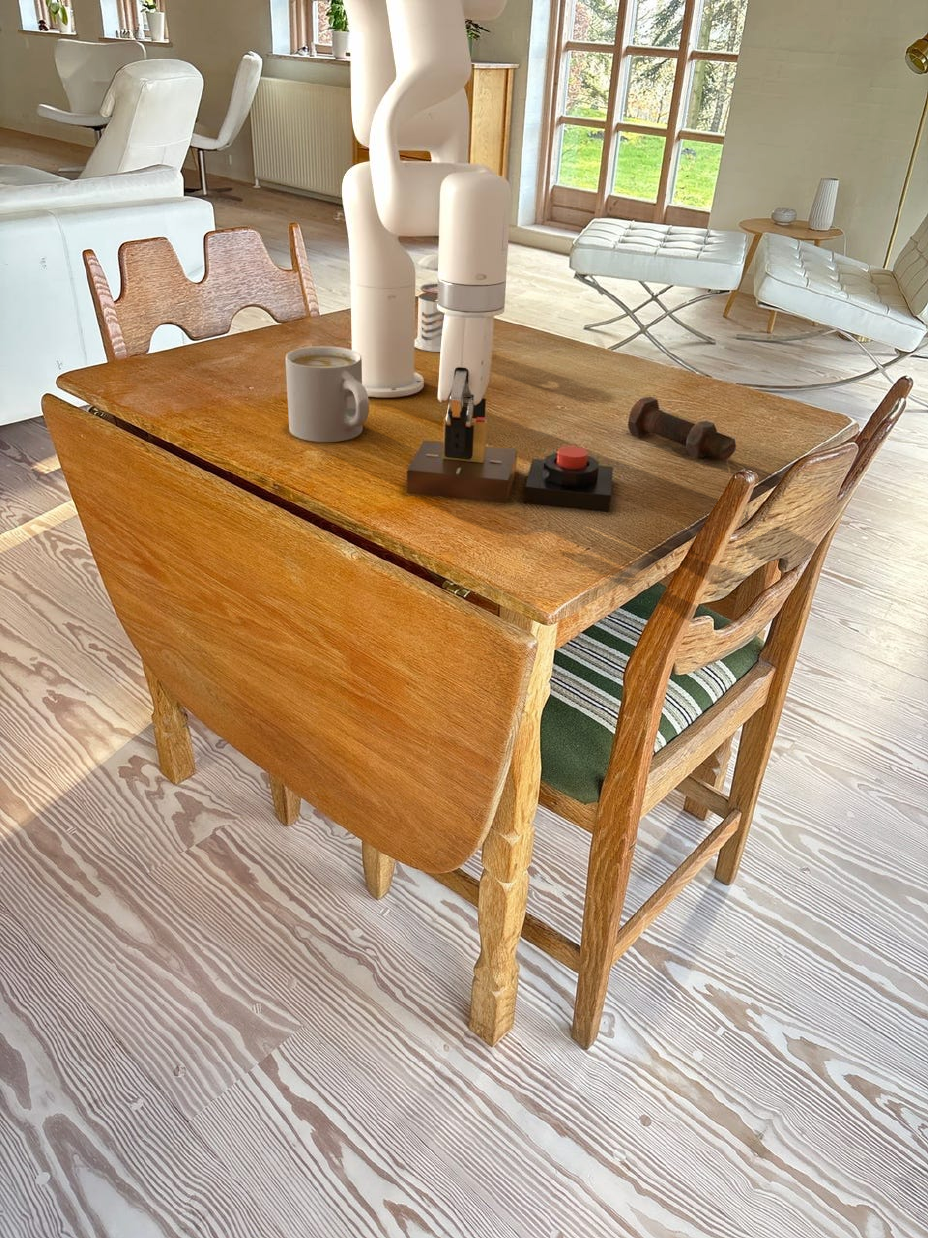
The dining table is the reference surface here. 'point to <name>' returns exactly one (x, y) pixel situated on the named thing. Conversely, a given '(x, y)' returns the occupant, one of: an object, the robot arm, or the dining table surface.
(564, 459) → the red button
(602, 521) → the dining table surface
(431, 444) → the plate
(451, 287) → the robot arm
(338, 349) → the coffee mug
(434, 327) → the french press
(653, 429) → the bolt
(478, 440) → the gold slab
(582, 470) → the button box
